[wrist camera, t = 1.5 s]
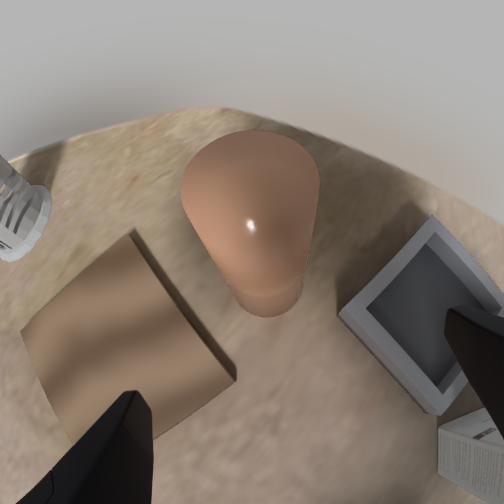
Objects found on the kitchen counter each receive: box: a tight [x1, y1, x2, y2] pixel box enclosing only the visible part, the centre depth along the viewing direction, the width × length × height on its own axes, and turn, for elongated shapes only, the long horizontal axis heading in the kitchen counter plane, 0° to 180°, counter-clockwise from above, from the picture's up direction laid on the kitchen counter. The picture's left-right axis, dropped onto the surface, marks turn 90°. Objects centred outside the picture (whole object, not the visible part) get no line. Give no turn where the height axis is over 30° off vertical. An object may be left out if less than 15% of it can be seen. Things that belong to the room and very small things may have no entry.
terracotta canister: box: [180, 130, 320, 317], centre depth 16 cm, size 5×5×12 cm
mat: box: [21, 234, 236, 445], centre depth 20 cm, size 14×14×1 cm
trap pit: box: [337, 215, 504, 416], centre depth 18 cm, size 10×10×2 cm
